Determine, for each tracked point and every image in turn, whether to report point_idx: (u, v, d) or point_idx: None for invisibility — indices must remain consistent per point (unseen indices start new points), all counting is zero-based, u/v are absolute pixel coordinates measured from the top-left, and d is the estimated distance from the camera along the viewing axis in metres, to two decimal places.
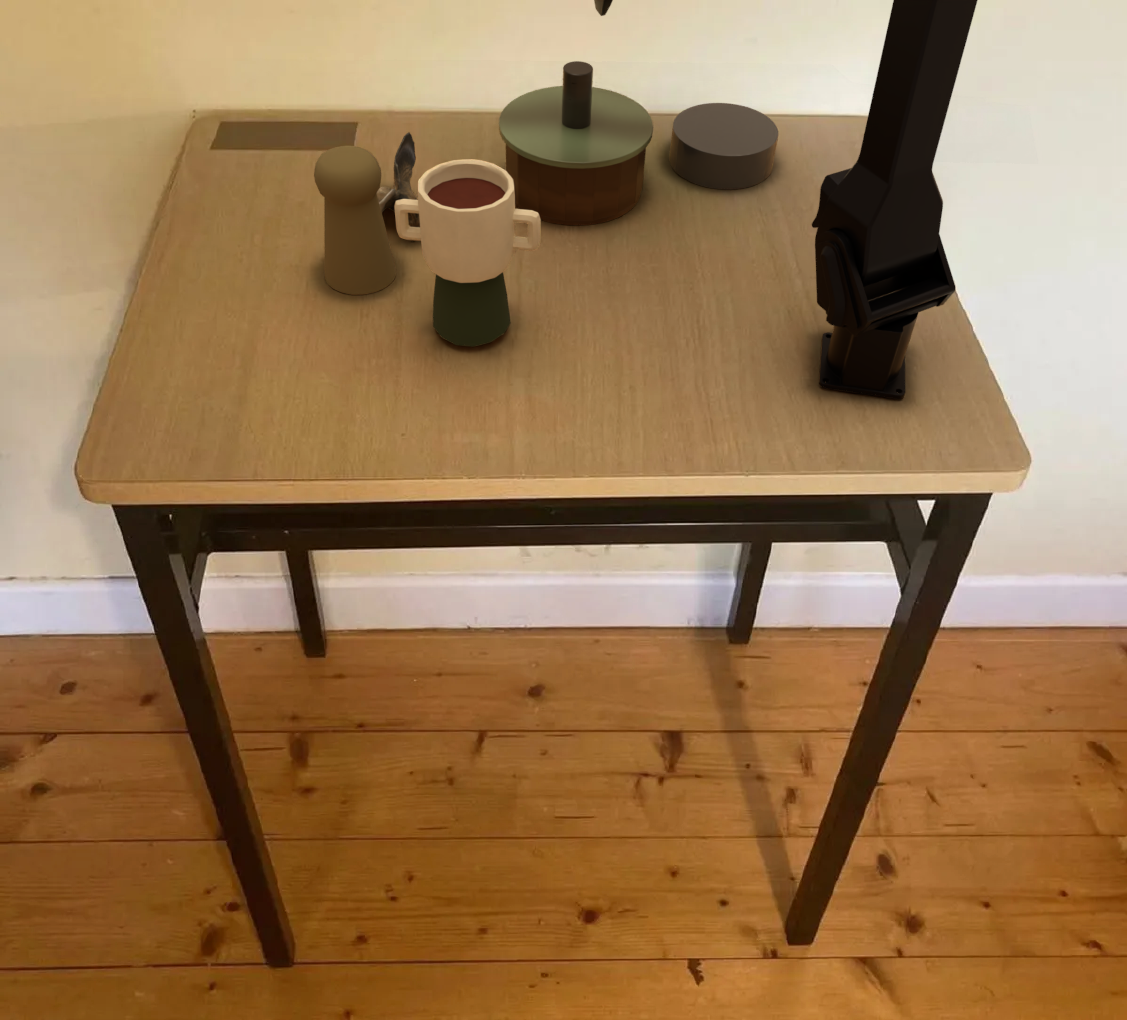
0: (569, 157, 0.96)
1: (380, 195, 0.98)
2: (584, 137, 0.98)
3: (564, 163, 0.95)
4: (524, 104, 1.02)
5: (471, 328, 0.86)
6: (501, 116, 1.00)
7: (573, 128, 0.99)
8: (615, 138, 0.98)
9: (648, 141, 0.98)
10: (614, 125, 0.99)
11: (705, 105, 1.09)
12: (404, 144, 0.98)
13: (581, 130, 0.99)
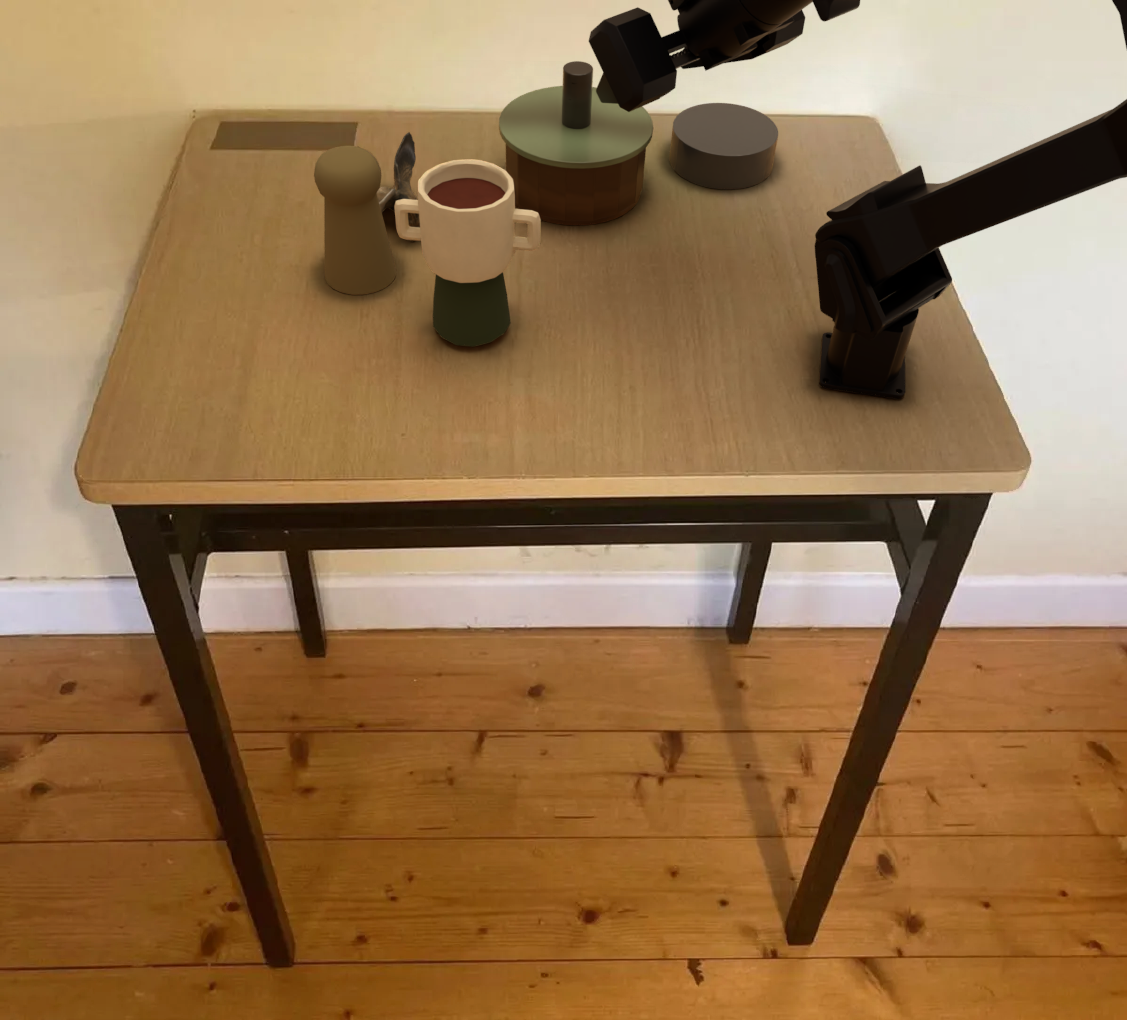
0: (569, 157, 0.96)
1: (380, 195, 0.98)
2: (584, 137, 0.98)
3: (564, 163, 0.95)
4: (524, 104, 1.02)
5: (471, 328, 0.86)
6: (501, 116, 1.00)
7: (573, 128, 0.99)
8: (615, 138, 0.98)
9: (648, 141, 0.98)
10: (614, 125, 0.99)
11: (705, 105, 1.09)
12: (404, 144, 0.98)
13: (581, 130, 0.99)
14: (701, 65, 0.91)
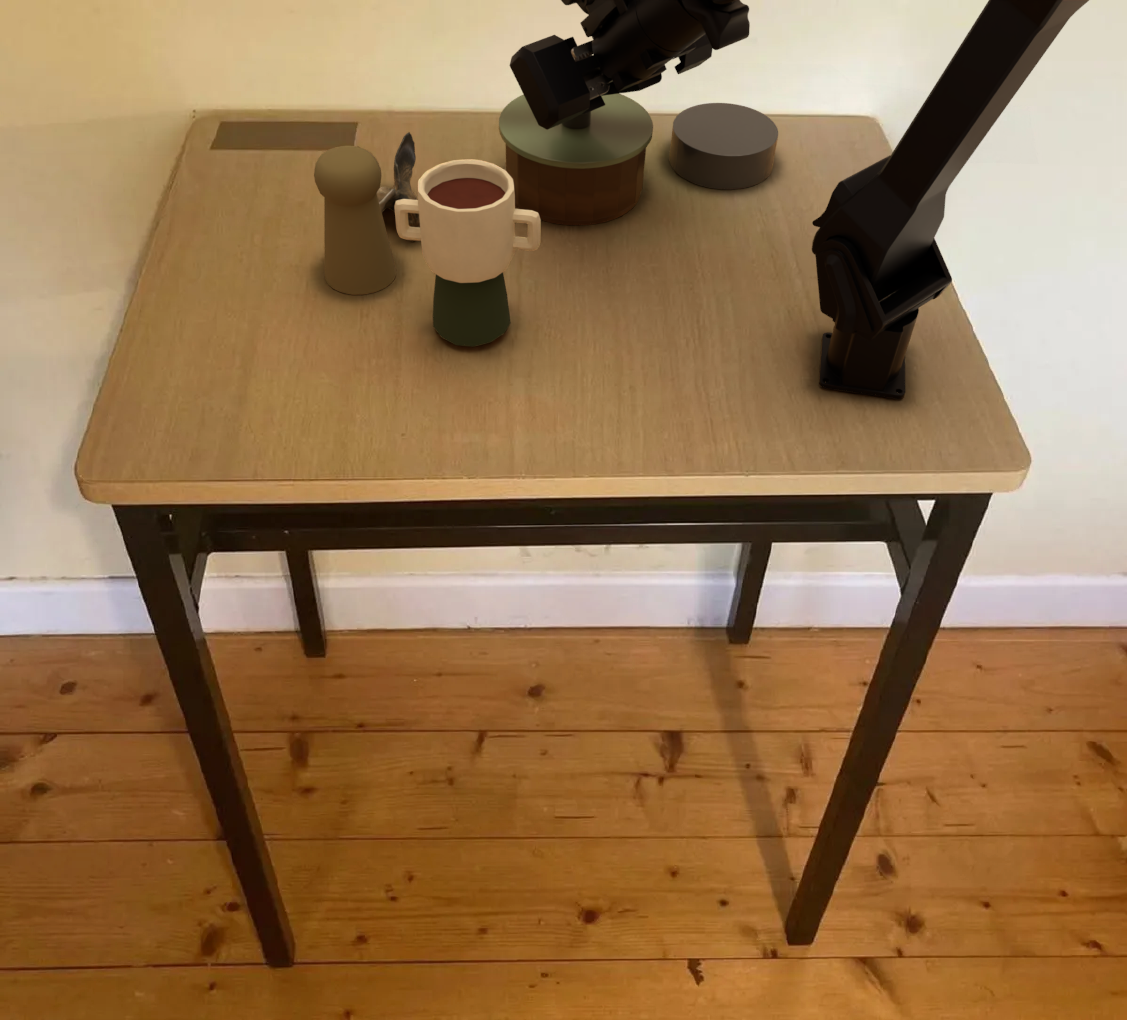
0: (569, 157, 0.96)
1: (380, 195, 0.98)
2: (584, 137, 0.98)
3: (564, 163, 0.95)
4: (524, 104, 1.02)
5: (471, 328, 0.86)
6: (501, 116, 1.00)
7: (573, 128, 0.99)
8: (615, 138, 0.98)
9: (648, 141, 0.98)
10: (614, 125, 0.99)
11: (705, 105, 1.09)
12: (404, 144, 0.98)
13: (581, 130, 0.99)
14: None
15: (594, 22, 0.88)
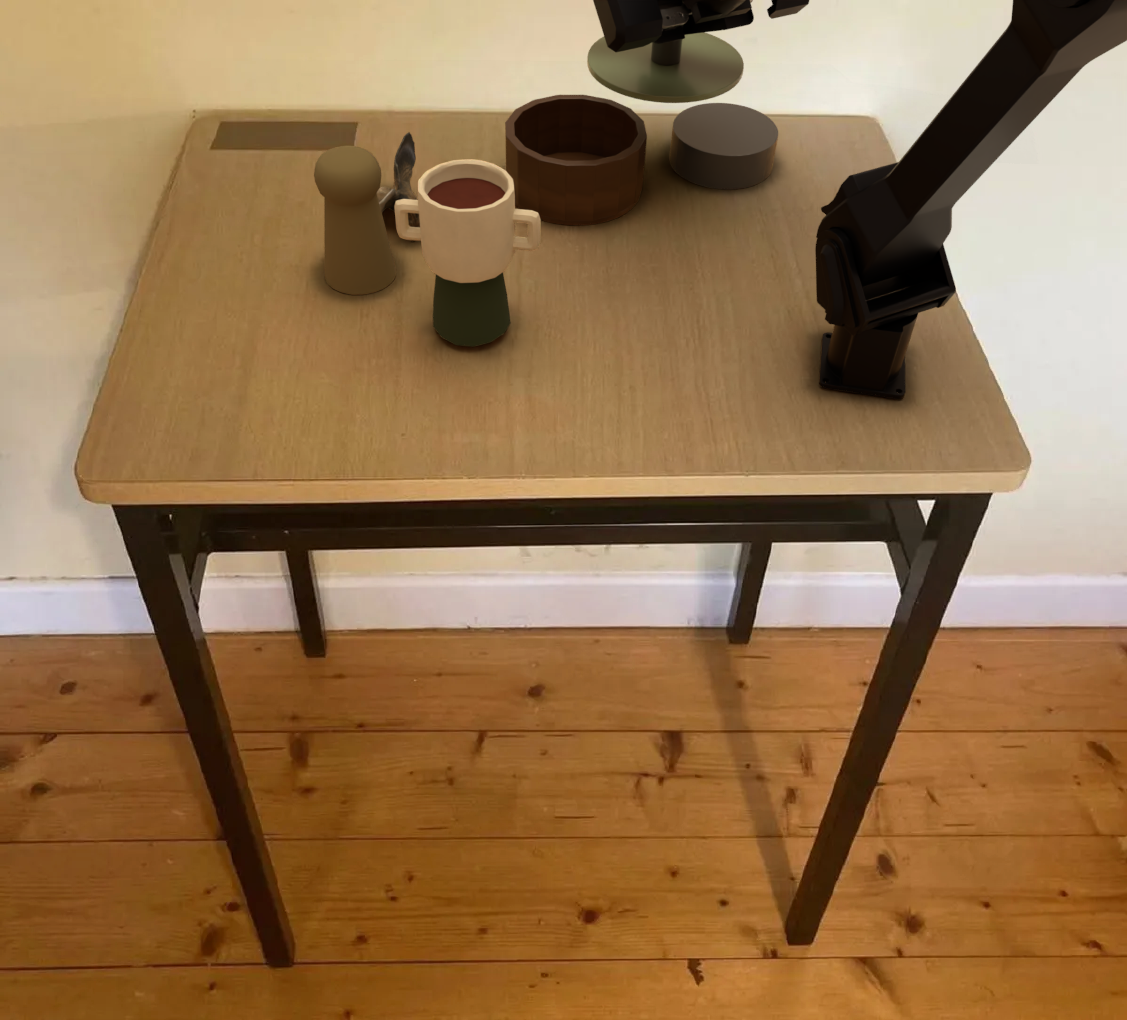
0: (645, 89, 0.95)
1: (380, 195, 0.98)
2: (668, 73, 0.97)
3: (638, 94, 0.94)
4: None
5: (471, 328, 0.86)
6: (593, 45, 1.00)
7: (660, 64, 0.98)
8: (698, 78, 0.96)
9: (732, 85, 0.96)
10: (702, 66, 0.98)
11: (705, 105, 1.09)
12: (404, 144, 0.98)
13: (667, 67, 0.98)
14: (687, 33, 0.97)
15: None
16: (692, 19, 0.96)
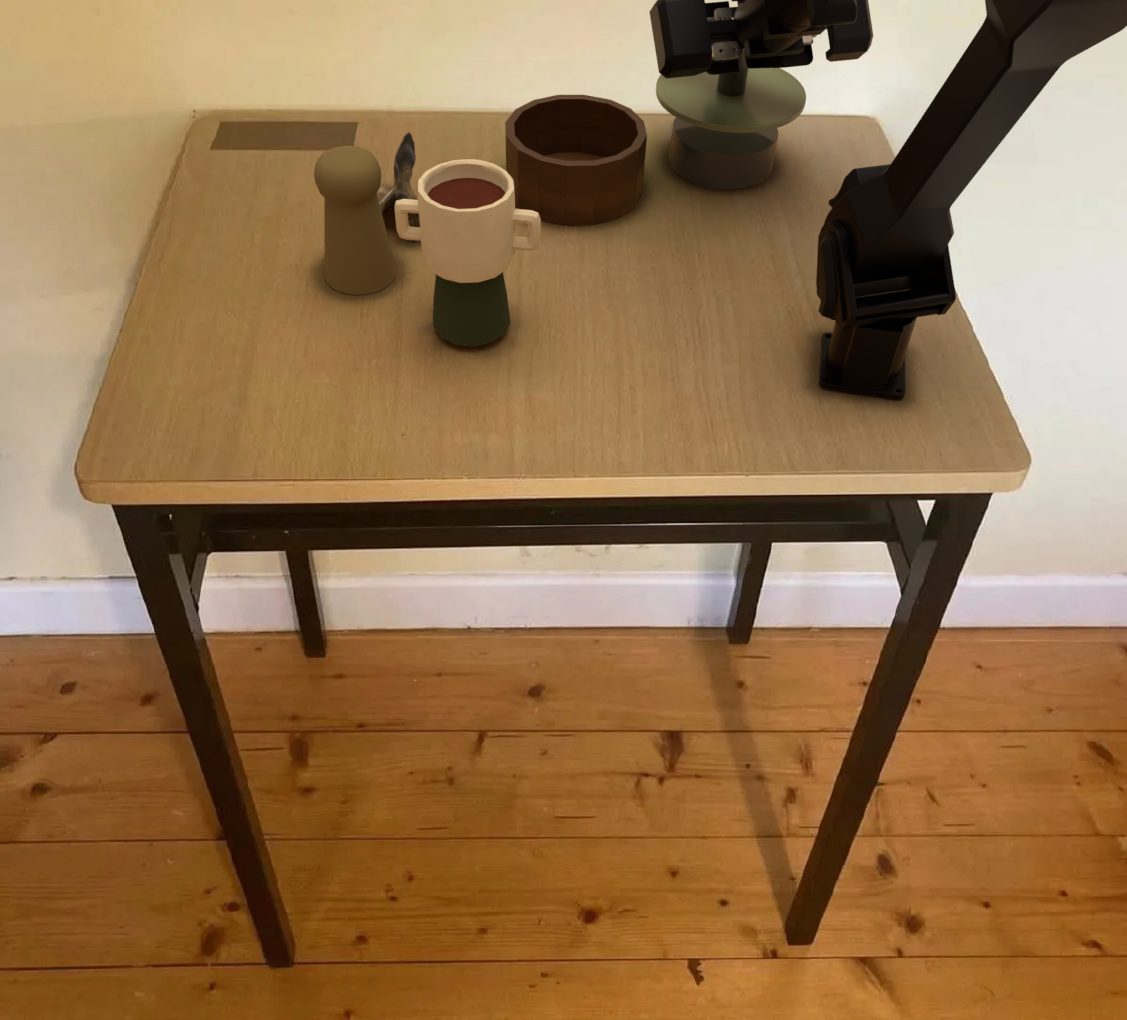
0: (699, 116, 0.99)
1: (380, 195, 0.98)
2: (728, 103, 1.01)
3: (692, 120, 0.99)
4: None
5: (471, 328, 0.86)
6: None
7: (723, 93, 1.02)
8: (755, 111, 1.00)
9: (786, 121, 1.00)
10: (764, 100, 1.02)
11: None
12: (404, 144, 0.98)
13: (729, 97, 1.02)
14: (753, 67, 1.01)
15: None
16: None
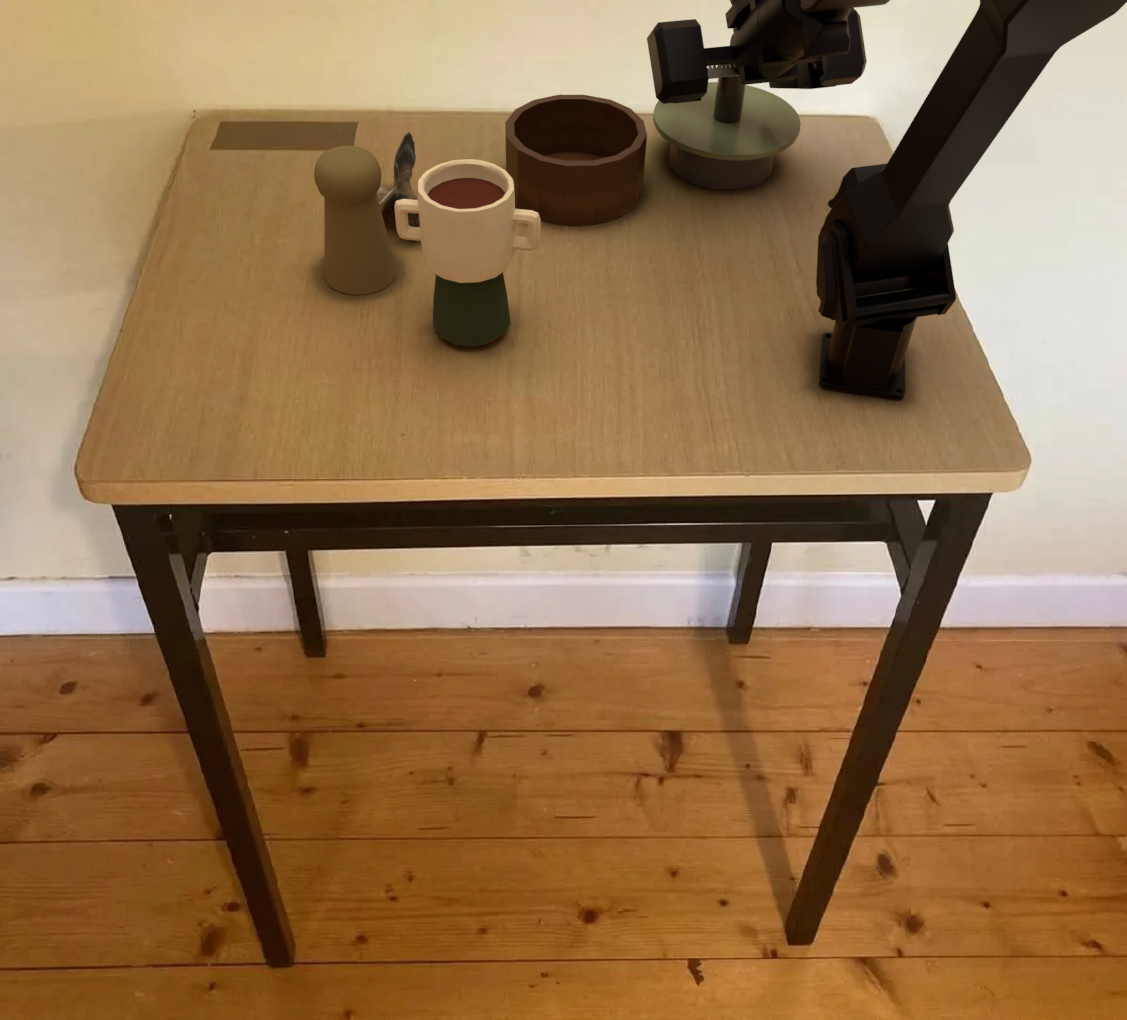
0: (696, 143, 1.01)
1: (380, 195, 0.98)
2: (724, 130, 1.03)
3: (688, 147, 1.01)
4: None
5: (471, 328, 0.86)
6: None
7: (719, 121, 1.04)
8: (751, 138, 1.02)
9: (781, 148, 1.02)
10: (759, 128, 1.04)
11: None
12: (404, 144, 0.98)
13: (725, 124, 1.04)
14: (780, 87, 1.03)
15: (733, 15, 0.93)
16: None
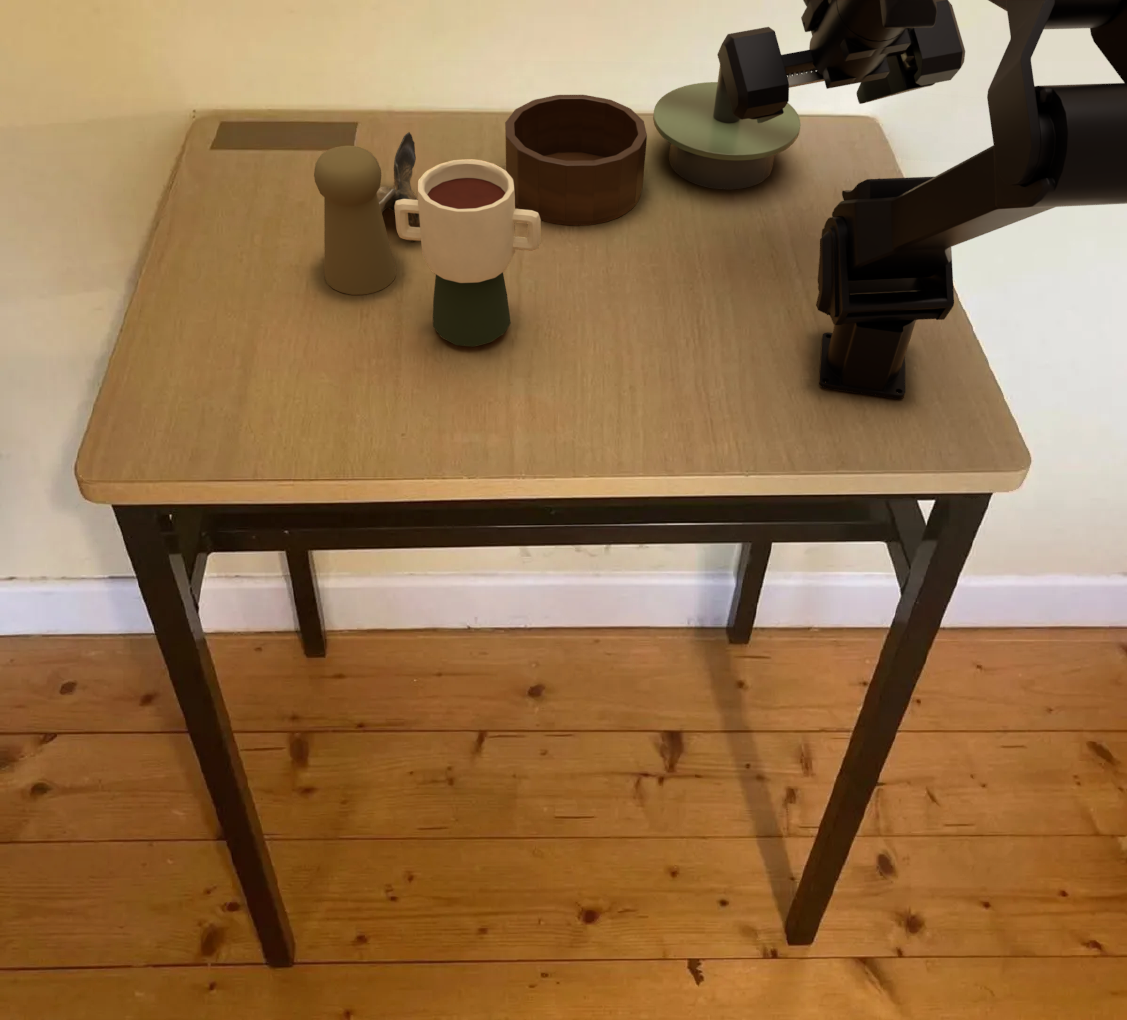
0: (696, 143, 1.01)
1: (380, 195, 0.98)
2: (724, 130, 1.03)
3: (688, 147, 1.01)
4: (693, 91, 1.08)
5: (471, 328, 0.86)
6: (664, 96, 1.07)
7: (719, 121, 1.04)
8: (751, 138, 1.02)
9: (781, 148, 1.02)
10: (759, 128, 1.04)
11: None
12: (404, 144, 0.98)
13: (725, 124, 1.04)
14: (871, 99, 0.94)
15: (809, 15, 0.85)
16: (875, 84, 0.93)
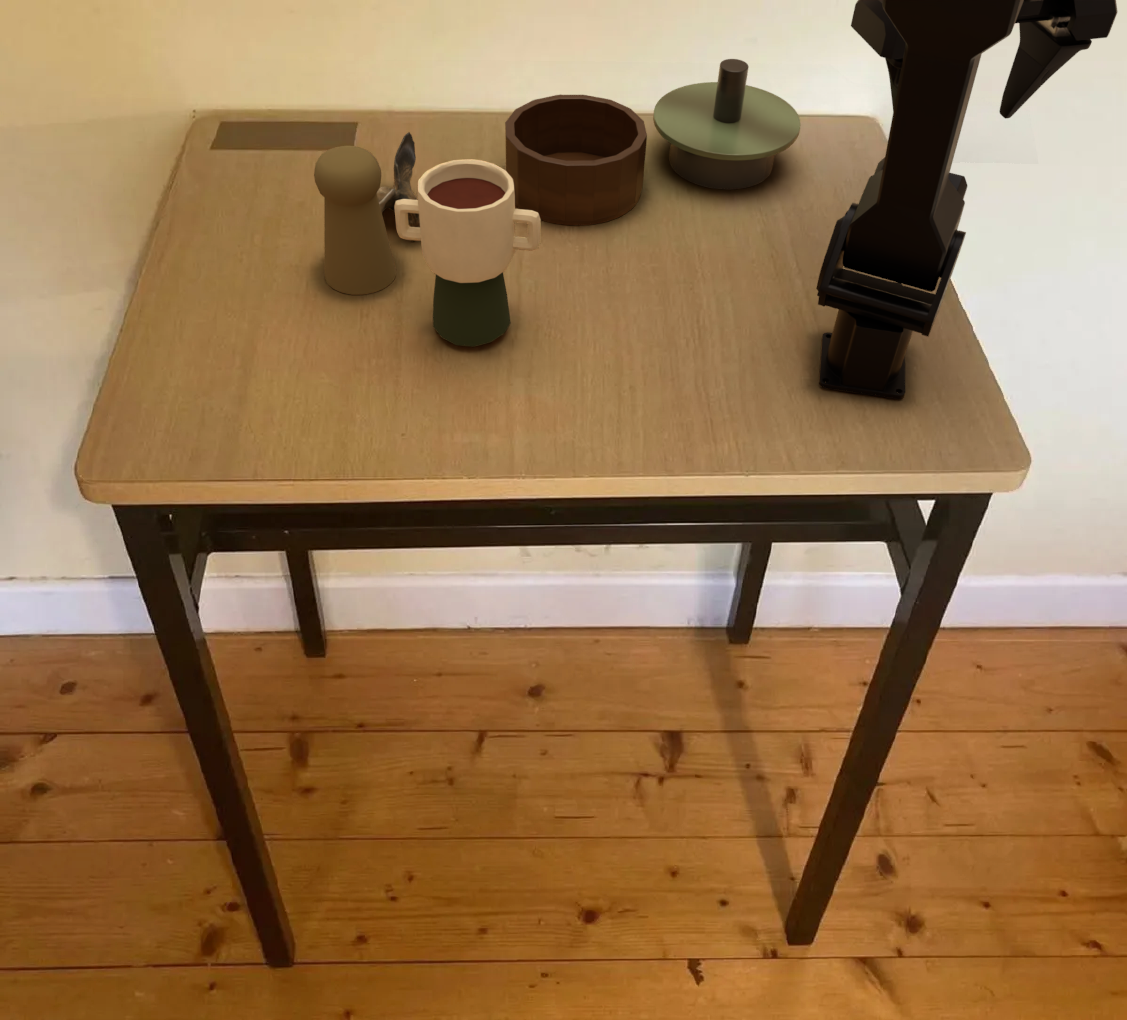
0: (696, 143, 1.01)
1: (380, 195, 0.98)
2: (724, 130, 1.03)
3: (688, 147, 1.01)
4: (693, 91, 1.08)
5: (471, 328, 0.86)
6: (664, 96, 1.07)
7: (719, 121, 1.04)
8: (751, 138, 1.02)
9: (781, 148, 1.02)
10: (759, 128, 1.04)
11: None
12: (404, 144, 0.98)
13: (725, 124, 1.04)
14: (1019, 97, 0.87)
15: None
16: (1021, 79, 0.87)
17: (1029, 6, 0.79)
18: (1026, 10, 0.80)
